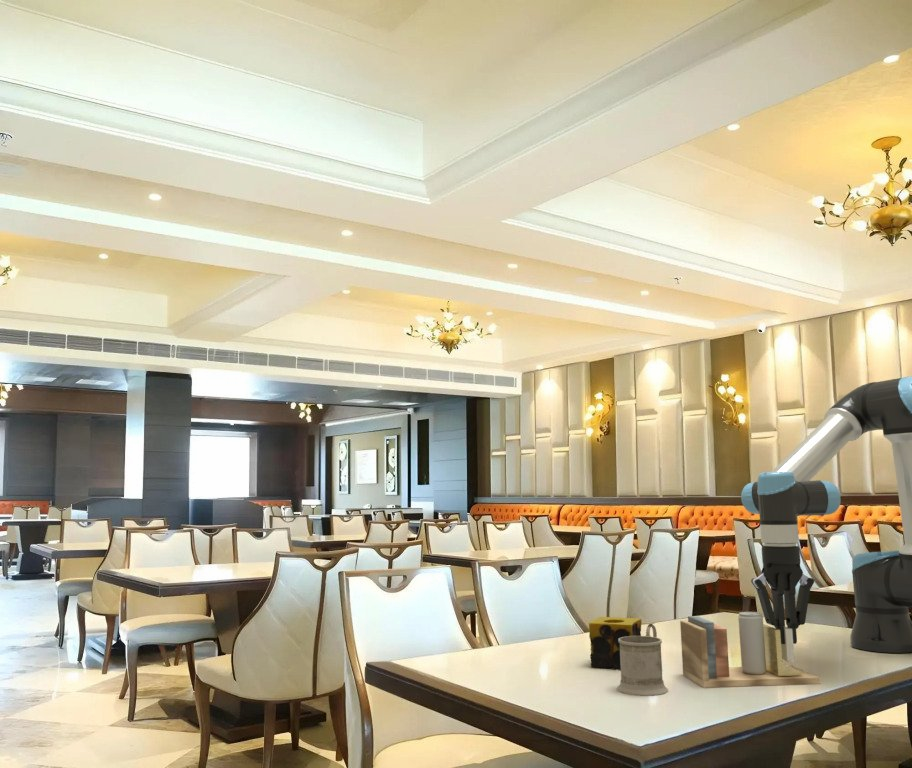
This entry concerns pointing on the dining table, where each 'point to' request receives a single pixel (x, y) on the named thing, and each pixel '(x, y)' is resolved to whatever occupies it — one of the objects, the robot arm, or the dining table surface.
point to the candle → (610, 639)
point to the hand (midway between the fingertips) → (787, 659)
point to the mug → (641, 664)
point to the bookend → (776, 653)
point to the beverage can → (752, 643)
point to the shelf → (735, 673)
